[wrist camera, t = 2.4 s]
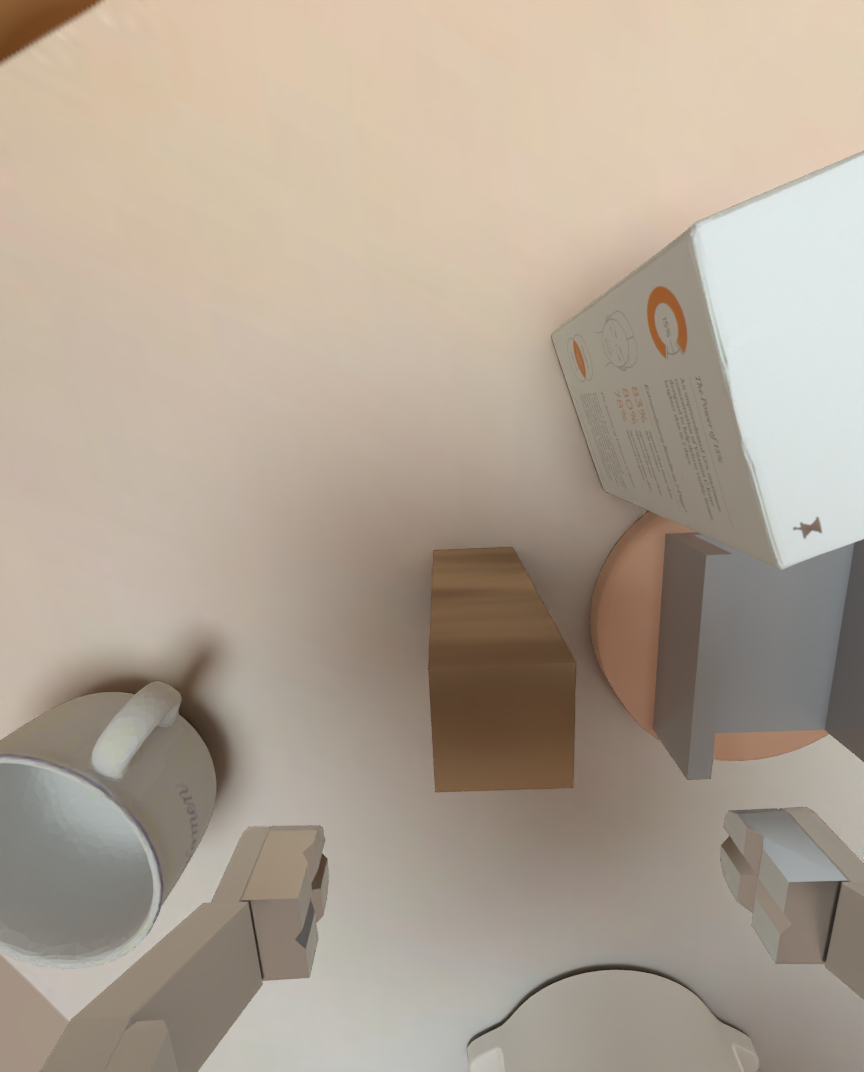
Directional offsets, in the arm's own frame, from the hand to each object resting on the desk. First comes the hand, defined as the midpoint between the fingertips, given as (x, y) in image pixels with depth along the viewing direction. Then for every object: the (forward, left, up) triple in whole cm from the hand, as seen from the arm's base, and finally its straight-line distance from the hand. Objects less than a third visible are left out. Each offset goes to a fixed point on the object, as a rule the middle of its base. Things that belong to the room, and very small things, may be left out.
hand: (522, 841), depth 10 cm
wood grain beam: (0, 0, -16) cm, 16 cm away
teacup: (-8, +18, -16) cm, 25 cm away
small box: (+9, -8, -16) cm, 20 cm away
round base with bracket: (-2, -13, -16) cm, 21 cm away
